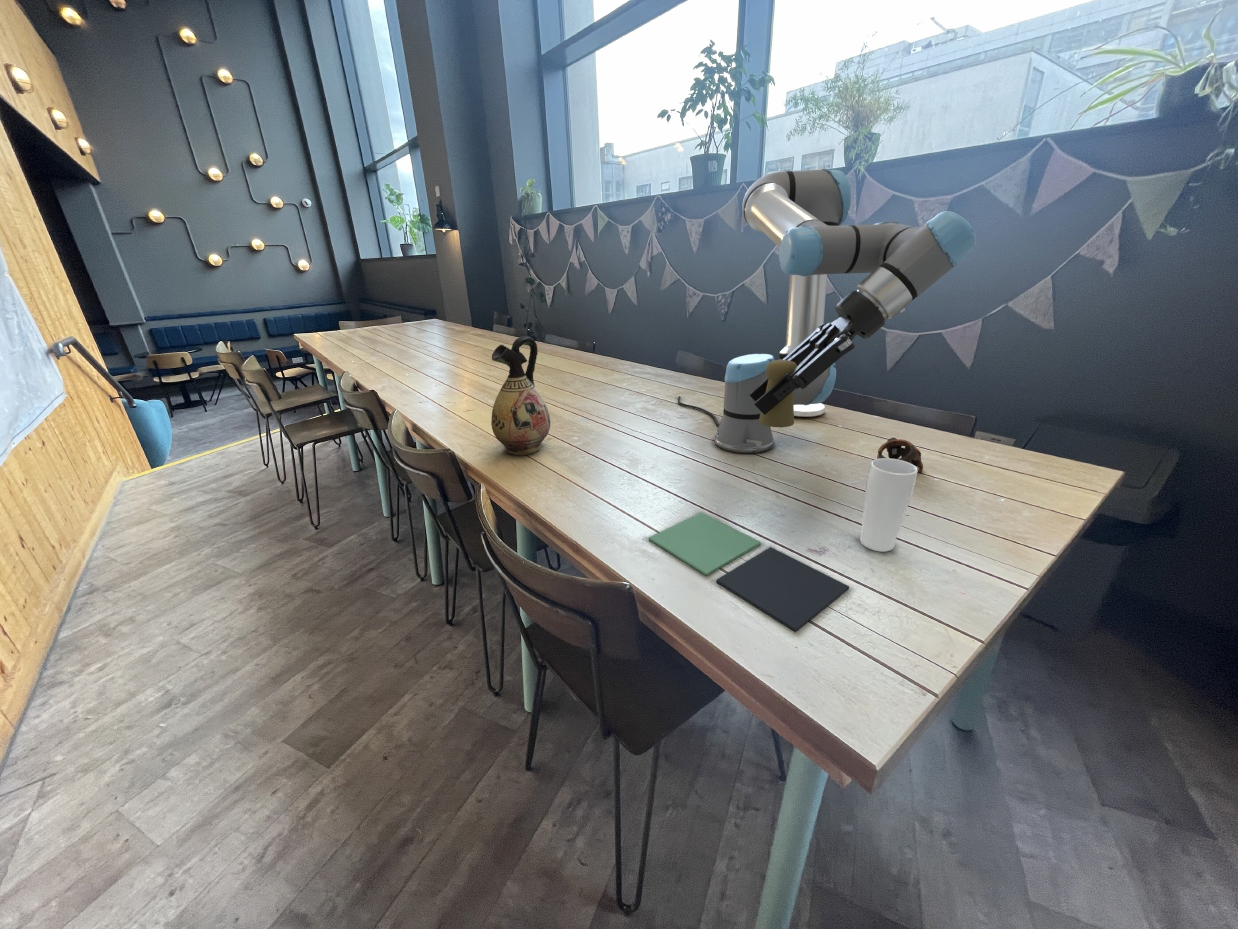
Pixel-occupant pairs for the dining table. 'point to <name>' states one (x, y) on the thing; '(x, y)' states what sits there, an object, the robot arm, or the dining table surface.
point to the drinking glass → (886, 502)
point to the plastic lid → (809, 409)
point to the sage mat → (704, 543)
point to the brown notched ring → (902, 452)
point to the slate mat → (783, 587)
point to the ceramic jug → (519, 402)
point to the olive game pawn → (785, 409)
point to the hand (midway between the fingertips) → (756, 404)
